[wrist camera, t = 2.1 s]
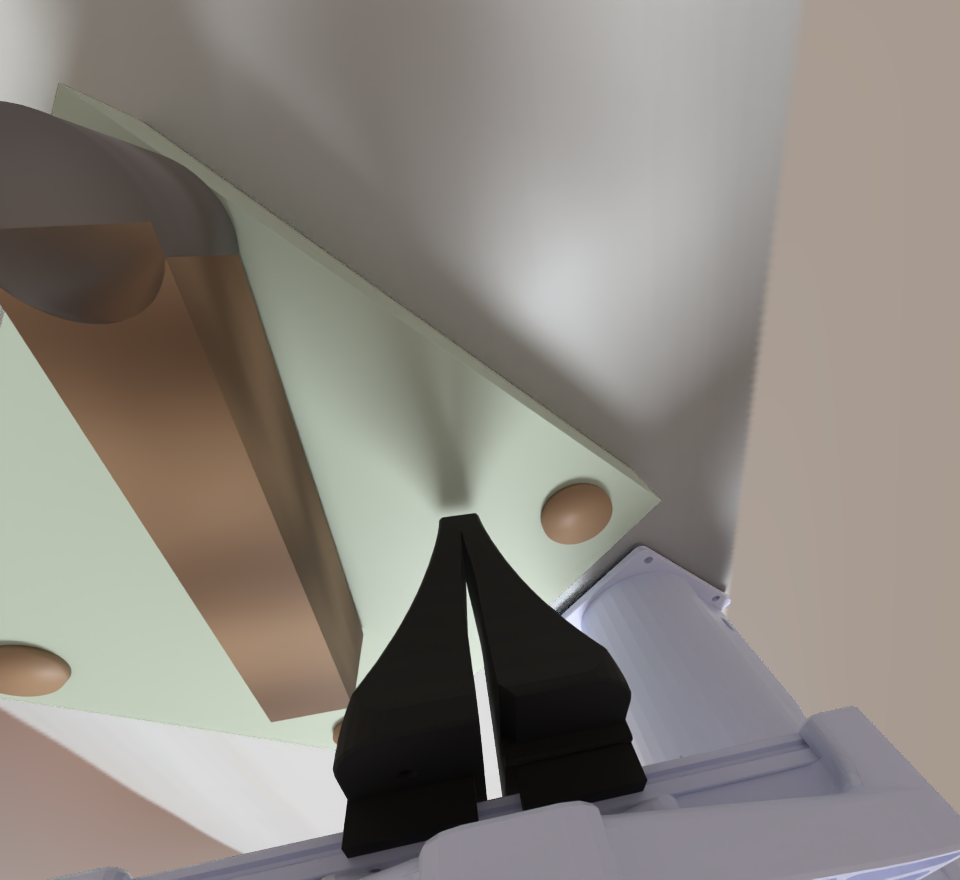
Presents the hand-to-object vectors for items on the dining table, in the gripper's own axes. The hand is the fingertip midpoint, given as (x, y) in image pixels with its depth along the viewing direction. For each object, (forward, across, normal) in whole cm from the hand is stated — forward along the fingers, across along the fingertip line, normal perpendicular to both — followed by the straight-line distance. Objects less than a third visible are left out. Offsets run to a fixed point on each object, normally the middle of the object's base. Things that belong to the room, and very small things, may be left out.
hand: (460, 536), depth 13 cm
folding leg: (+1, +6, -3) cm, 7 cm away
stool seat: (+4, +7, +3) cm, 8 cm away
